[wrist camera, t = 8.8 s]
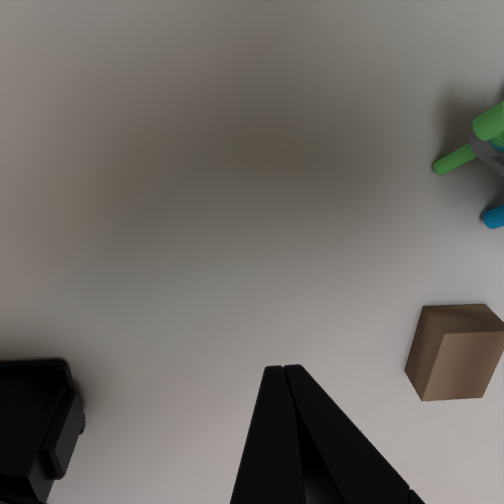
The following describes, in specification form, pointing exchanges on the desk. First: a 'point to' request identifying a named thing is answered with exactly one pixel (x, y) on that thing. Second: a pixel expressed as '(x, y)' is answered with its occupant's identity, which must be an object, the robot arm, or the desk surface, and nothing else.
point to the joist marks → (455, 351)
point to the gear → (482, 153)
